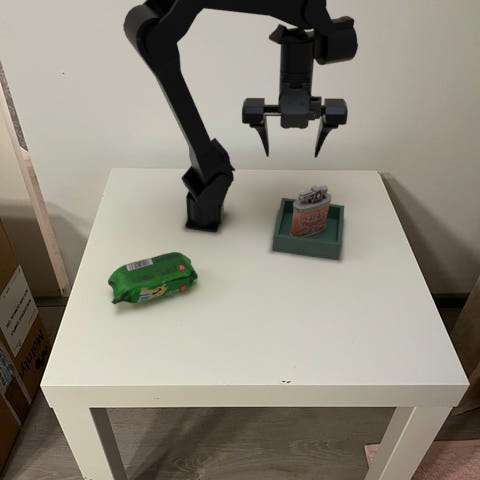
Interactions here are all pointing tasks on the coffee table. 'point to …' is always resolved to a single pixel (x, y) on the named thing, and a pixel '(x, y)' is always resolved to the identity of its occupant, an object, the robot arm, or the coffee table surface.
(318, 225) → the lighter
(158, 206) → the coffee table surface
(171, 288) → the snack package
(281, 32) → the robot arm
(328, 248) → the shallow open tray
